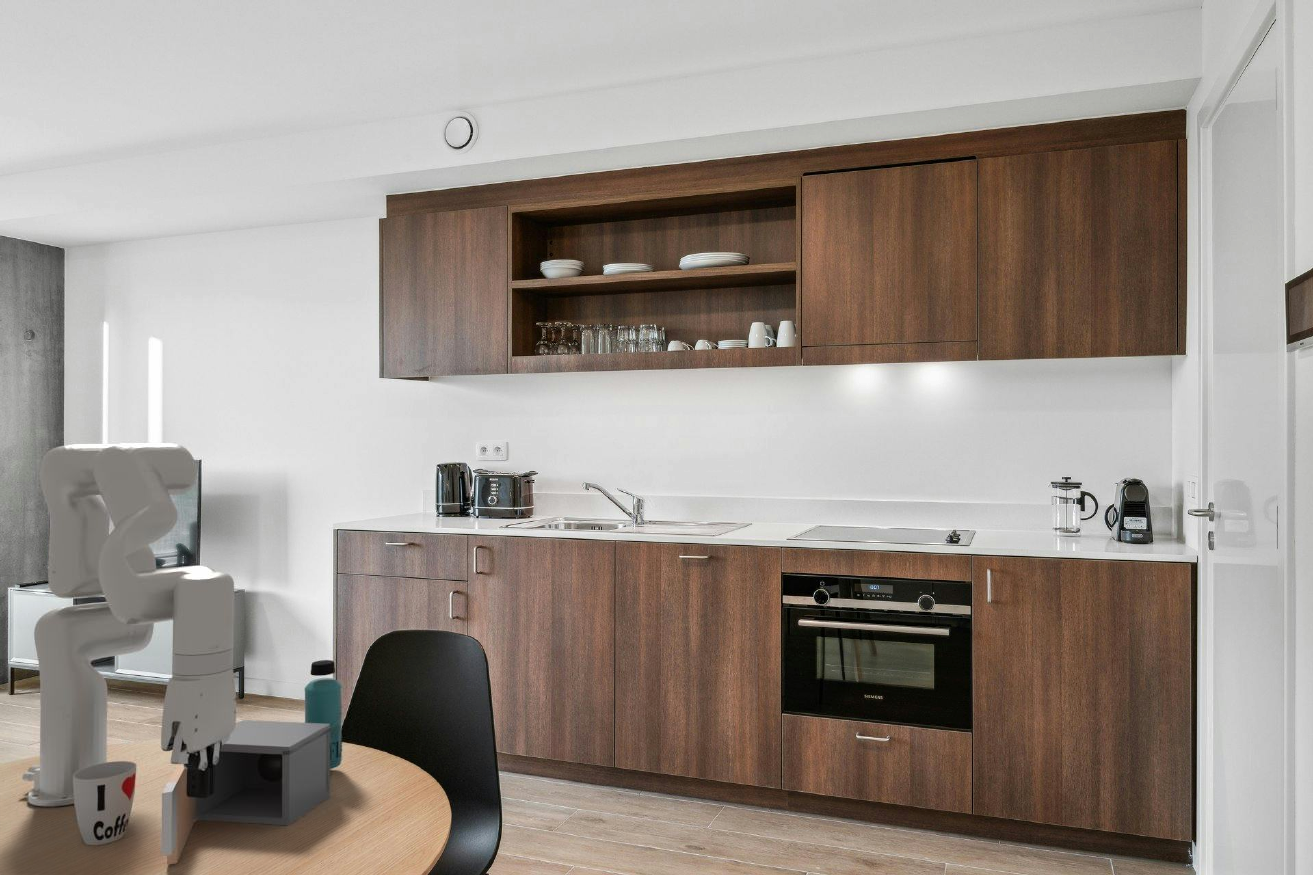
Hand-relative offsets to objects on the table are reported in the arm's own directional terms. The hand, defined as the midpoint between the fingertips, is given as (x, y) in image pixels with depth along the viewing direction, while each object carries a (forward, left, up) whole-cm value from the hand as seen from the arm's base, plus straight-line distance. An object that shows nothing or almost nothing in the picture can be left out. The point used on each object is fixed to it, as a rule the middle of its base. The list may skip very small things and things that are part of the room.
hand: (200, 794), depth 122 cm
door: (-7, +5, -9) cm, 13 cm away
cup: (-21, +7, -10) cm, 24 cm away
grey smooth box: (-4, +21, -10) cm, 23 cm away
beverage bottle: (-3, +37, -10) cm, 38 cm away
